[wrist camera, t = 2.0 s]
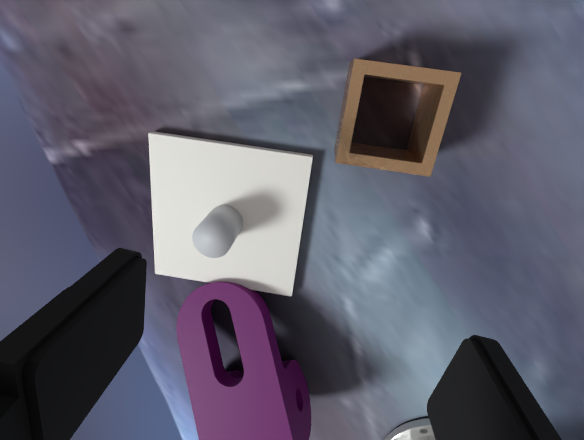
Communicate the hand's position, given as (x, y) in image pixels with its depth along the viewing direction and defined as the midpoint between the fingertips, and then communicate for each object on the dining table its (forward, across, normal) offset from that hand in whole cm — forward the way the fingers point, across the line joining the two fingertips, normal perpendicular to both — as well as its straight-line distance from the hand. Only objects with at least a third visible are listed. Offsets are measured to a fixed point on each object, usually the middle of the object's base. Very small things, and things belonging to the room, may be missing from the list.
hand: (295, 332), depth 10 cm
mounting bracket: (+21, +2, +22) cm, 30 cm away
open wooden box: (+20, -4, -5) cm, 22 cm away
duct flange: (+20, +7, +7) cm, 23 cm away
